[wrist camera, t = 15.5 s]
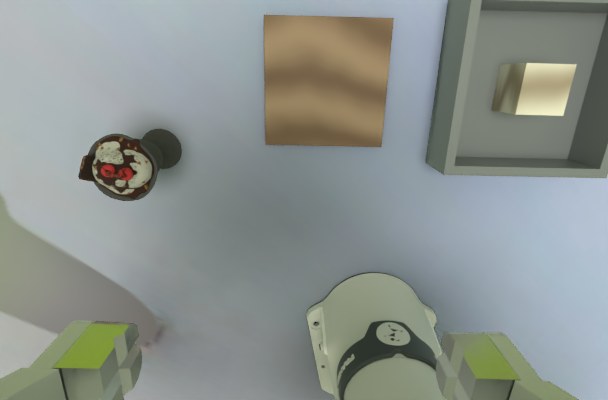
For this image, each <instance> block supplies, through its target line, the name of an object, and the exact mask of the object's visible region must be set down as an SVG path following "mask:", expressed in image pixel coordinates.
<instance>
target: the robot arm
mask: <svg viewBox="0 0 608 400" xmlns="http://www.w3.org/2000/svg"><path fill="white" fill-rule="evenodd" d="M306 316H307V321H308V326H309V331H310V336H311V341H312V346H313V351H314V355H315V360H316V365H317V370H318V375H319V380H320V385H321V388H322V389H323V390H324V391H326V392H328V393H330V394H332V395H334V397H335V400H579V399H577V398H575V397H574V396H572V395H570V394H569V393H567V392H566V391H564V390H562V389H561V388H559V387H557V386H556V385H554V384H552V383H551V382H549V381H542V379H541V378H540V377H539V376H538V374H537V373H536V372H535V371H534V369H533V368H532V367H531V366H530V364H529V363H528V362H527V361H526V359H525V358H524V357H523V356H522V354H521V353H520V352H519V351H518V349H517V348H516V347H515V346H514V344H513V343H512V342H511V341H510V339H509V338H508V337H507V336H506V335H505V334H503V333H460V332H445V333H444V335H443V336H442V340H441V346H442V348H443V350H444V352H443V353H442V350H441V347H440V344H439V342H438V339H437V337H436V334H435V332H434V329H433V328H434V326H435V323H436V320H437V318H436V315H435V313H434V311H433V310H432V309H430V308H429V307H428V306H426V305H424V304H423V303H421V302H420V300H419V299H418V297H417V296H416V294H415V292H414V291H413V290H412V288H411V287H410V286H409V285H407V284H406V283H405V282H403V281H402V280H400V279H398V278H396V277H394V276H391V275H387V274H381V273H367V274H361V275H358V276H354V277H352V278H349V279H347V280H345V281H344V282H342V283H341V284H339V285H338V286H337V287H336V288H334V289H333V291H332V292H331V293H330V294H329V295H328V296H327V298H326V299H325V300H323V301H322V302H320V303H318V304H316V305H314V306H313V307H311V308H310V309H309V310H308V311H307V314H306ZM314 322H318V323H314ZM138 337H139V333H138V327H137V325H136V324H134V323H124V322H123V323H122V322H104V321H78V320H77V321H75V322H72V323H70V324H69V326H67V327H66V329H65V330H64V331H63V332H62V333H61V334H60V335H59V336H58V337H57V338H56V339H55V340H54V341H53V342H52V343H51V345H50V346H49V347H48V348H47V349H46V350H45V351H44V352H43V353H42V354H41V355H40V356H39V357H38V358H37V359H36V361H35V362H34V363H33V364H32V365H31V366H30V367H29V368H21V369H19V370H17V371H15V372H13V373H11V374H9V375H7V376H5V377H3V378H1V379H0V400H124V397H123V395H125V394H126V393H128V392H129V391H130V390H132V389H133V388H134V386H135V384H136V382H137V380H138V377H139V373H140V370H141V365H142V354H141V349H140V348H139V347H138V346H137V345H136V344H135V341H136V340H137V338H138Z"/></svg>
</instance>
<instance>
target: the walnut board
mask: <svg viewBox="0 0 608 400" xmlns="http://www.w3.org/2000/svg"><path fill="white" fill-rule="evenodd" d="M393 19H394V18H365V17H325V16H286V15H264V56H265V130H266V144H270V145H316V146H362V147H381V145H382V134H383V124H384V113H385V103H386V92H387V82H388V71H389V61H390V50H391V40H392V29H393Z"/></svg>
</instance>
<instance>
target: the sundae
mask: <svg viewBox="0 0 608 400" xmlns="http://www.w3.org/2000/svg"><path fill="white" fill-rule="evenodd" d="M180 157H181V146H180V143H179V141H178V139H177V138H176V137H175V136H174V135H173V134H172V133H170V132H169V131H166V130H163V129H155V130H151V131H149V132H148V133H146V135H145V136H144V137H143V139H142V140H139V139H133V138H130V137H128V136H125V135H123V134H111V135H107V136H105V137H103V138H101V139H99V140H98V141H96V142H95V143H94V144H93V146H92V147H91V149H90V151H89V153H88V155H86V156H84V157H83V159H82V163H81V166H80V173H79V179H82V180H87V181H94V183H95V185H96V186H97V187H98V189H99V190H100V191H102V192H103V193H104V194H106V195H107V196H109V197H111V198H114V199H117V200H122V201H133V200H138V199H141V198H143V197H144V196H146V195H147V194H148V193H149V192H150V191H151V189H152V188H153V186H154V184H155V181H156V178H157V174H158V171H159V169H160V168H161V169H164V168H170V167H172V166H174V165H176V163H177V162H178V161H179V159H180Z"/></svg>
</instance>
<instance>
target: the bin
mask: <svg viewBox="0 0 608 400" xmlns="http://www.w3.org/2000/svg"><path fill="white" fill-rule="evenodd" d="M518 63H547V64H577V66H576V69H575V73H574V77H573V81H572V84H571V88H570V92H569V96H568V100H567V103H566V107H565V111H564V115H563V116H549V115H515V114H509V113H504V112H498V111H492V110H491V108H492V103H493V98H494V93H495V88H496V83H497V78H498V73H499V68H500V65H502V64H518ZM426 163H427V164H429V165H430V166H432V167H433V168H435V169H436V170H438V171H439V172H440V173H442V174H443V175H481V176H528V177H575V178H606V177H607V174H608V0H448V5H447V13H446V20H445V27H444V34H443V41H442V49H441V56H440V63H439V70H438V77H437V85H436V92H435V99H434V106H433V113H432V120H431V128H430V135H429V142H428V149H427V156H426Z"/></svg>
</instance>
